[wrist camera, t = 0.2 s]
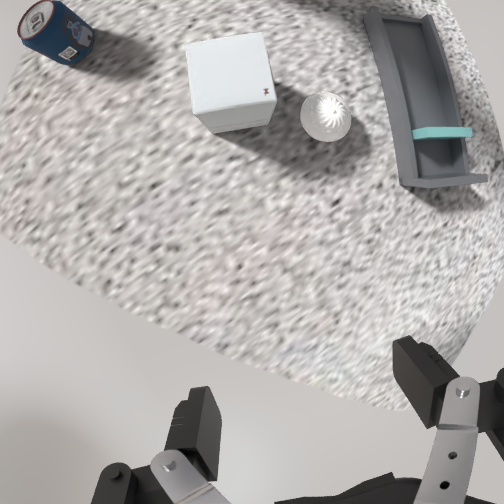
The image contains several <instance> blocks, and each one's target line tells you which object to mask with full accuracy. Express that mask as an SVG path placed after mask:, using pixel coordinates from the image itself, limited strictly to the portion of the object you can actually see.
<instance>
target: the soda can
mask: <svg viewBox="0 0 504 504" xmlns="http://www.w3.org/2000/svg"><path fill="white" fill-rule="evenodd" d="M17 32H18V36H19V37H20V38H21V40H22V43H23V44H24V45H25V46H26V47H29V48H31V49H33V50H35V51H37V52H39V53H41V54H43V55H45V56H46V57H48V58H50V59H52V60H54V61H56V62H58V63H60V64H63V65H69V64H73V63H75V62H78V61H80V60H81V59H83V58H84V57H85V56H86V55H87V54H88V53H89V51H90V50H91V48H92V46H93V41H94V32H93V29H92V28H91V27H90V26H89V25H88V24H87V23H86V22H85V21H83V20H82V19H81V18H80V17H79V16H77V15H76V14H75V13H74V12H73V11H71V10H70V9H69V8H68V7H66V6H65V5H64V4H63V3H62V2H60V1H56V0H52V1H51V0H41V1H39V2H37V3H35V4H34V5H33V6H31V7H30V8H29V9H28V10H27V11H26V13H25V14H24V15H23V17H22V19H21V20H20V22H19V25H18V30H17Z"/></svg>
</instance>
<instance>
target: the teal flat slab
mask: <svg viewBox="0 0 504 504" xmlns="http://www.w3.org/2000/svg"><path fill="white" fill-rule="evenodd" d="M411 132H412V138H413V141H414V140H439V139H454V138H464V137H473V135H472V129H471V127H425V128H420V129H415V130H411Z"/></svg>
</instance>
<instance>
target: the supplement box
mask: <svg viewBox="0 0 504 504" xmlns="http://www.w3.org/2000/svg"><path fill="white" fill-rule="evenodd" d="M185 49H186V58H187V67H188V76H189V85H190V94H191V102H192V110H193V114H194V115H195V116H196V117H197V118H198V119H199V120H200V121H201V122H202V123H203V124H204V125H205V126H206V128H207V129H208V130H209V131H210V132H211V133H212V134H215V133H221V132H227V131H233V130H239V129H245V128H251V127H258V126H265V125H268V124H269V122H270V119H271V116H272V114H273V111H274V109H275V106H276V104H277V101H278V99H277V94H276V89H275V85H274V80H273V75H272V71H271V66H270V62H269V57H268V53H267V49H266V45H265V40H264V36H263V33H262V32H258V33H249V34H242V35H235V36H228V37H222V38H217V39H211V40H206V41H201V42H196V43H192V44H187V45H185Z"/></svg>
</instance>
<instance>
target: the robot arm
mask: <svg viewBox="0 0 504 504" xmlns="http://www.w3.org/2000/svg"><path fill="white" fill-rule="evenodd" d="M393 373H394V377H395V379H396V381H397V383H398V384H399V386H400V388H401V389H402V391H403V392H404V394H405V395H406V397H407V398H408V400H409V401H410V403H411V405H412V406H413V408H414V409H415V411H416V412H417V414H418V416H419V417H420V419H421V420H422V422H423V424H424V425H425V427H426V428H427V429H428V428H431V427H433V426H435V425H436V427H437V428H438V429H437V433H436V437H435V440H434V444H433V448H432V451H431V454H430V458H429V461H428V464H427V467H426V470H425V473H424V476H423V479H422V480H421V479H417V478H394V476H393V473H392V472H390V473H388V474H384V475H382V476H379V477H376V478H373V479H370V480H367V481H364V482H362V483H361V484H358V485H356V486H355V487H353V488H351V489H349V490H347V491H345V492H343V493H341V494H339V495H336V496H324V497H301V498H296V499H290V500H285V501H278V502H275V503H274V504H495V503H491V502H488V501H484V500H481V499H477V498H474V497H471V496H468V495H466V492H467V489H468V485H469V480H470V476H471V472H472V466H473V461H474V456H475V450H476V444H477V437H478V433H482V432H486V434H487V436H488V437H489V438H490V440H491V442H492V443H493V445H494V446H495V448H496V449H497V451H498V453H499V454H500V456H501V457H502V459H503V461H504V368H502V369H501V370H500V371H499V372H498V374H497V378H496V379H495V380H492V381H488V382H483V383H478V382H477V381H476V380H474V379H472V378H470V377H460V376H459V375H458V374H457V372H456V371H455V370H454V369H453V368H452V367H451V366H450V365H449V364H448V363H447V362H446V361H445V360H443V357H442V356H441V355H440V354H438V352H437V351H436V350H435V349H434V348H433V347H432V346H430V345H428V344H426V343H423V342H421V343H419V344H418V343H417V342H416V341H415V340H414V339H413V338H412V337H411V336H410V335H408V336H406V337H403V338H400V339H397V340H394V341H393ZM221 427H222V419H221V414H220V411H219V408H218V406H217V404H216V401H215V399H214V397H213V394H212V392H211V390H210V388H209V387H208V386H204V387H197V388H191V389H190V392H189V397H188V400H184V401H181V402H180V403H179V405H178V406H177V407H176V408H175V411H174V415H173V420H172V422H171V426H170V430H169V433H168V437H167V441H166V445H165V449H164V451H163V452H160V453H159V454H157V455H156V456H155V457H154V458H153V459H152V461H151V464H150V465H148V466H144V467H140V468H136V469H130V467H129V466H128V465H126V464H124V463H113V464H111V465H109V466H107V467H106V468H104V470H103V471H102V472H101V475H100V477H99V480H98V484H97V486H96V489H95V493H94V496H93V499H92V502H91V504H231V503H230V502H229V501H228V500H227V499H226V498H225V497H224V496H223V495H222V494H221V493H220V492H219V491H218V490H217V489H216V488H215V487H214V486H213V485H212V484H211V483H210V484H209V483H208V482H210V481H217V476H218V464H219V451H220V439H221Z"/></svg>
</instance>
